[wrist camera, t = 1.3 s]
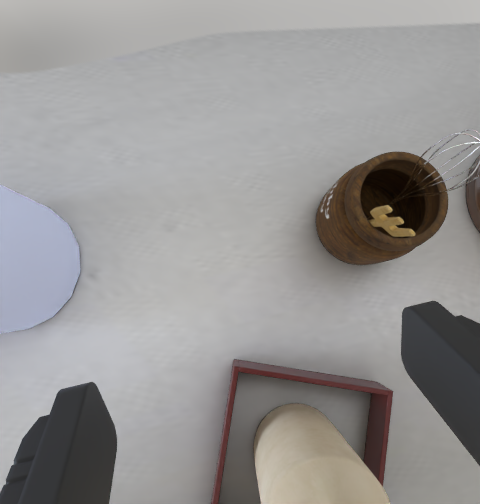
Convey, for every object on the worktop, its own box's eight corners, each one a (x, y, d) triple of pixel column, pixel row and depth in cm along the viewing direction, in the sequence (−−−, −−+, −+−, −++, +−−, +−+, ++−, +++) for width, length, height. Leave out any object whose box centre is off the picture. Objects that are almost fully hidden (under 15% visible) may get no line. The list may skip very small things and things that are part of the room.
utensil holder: (415, 226, 27) (568, 169, 15) (351, 287, 26) (456, 280, 14) (356, 164, 27) (458, 60, 15) (292, 223, 26) (344, 164, 14)
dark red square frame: (233, 359, 25) (234, 365, 23) (377, 381, 25) (393, 391, 23) (209, 513, 24) (207, 538, 22) (359, 537, 24) (374, 564, 22)
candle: (313, 507, 24) (372, 655, 14) (237, 465, 24) (243, 582, 14) (352, 427, 25) (434, 515, 15) (277, 386, 25) (309, 446, 15)
